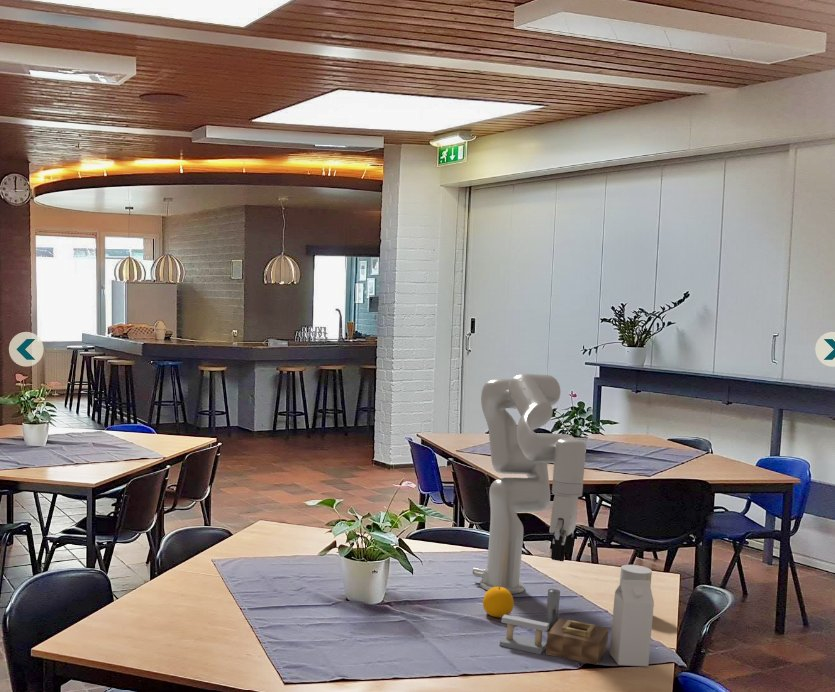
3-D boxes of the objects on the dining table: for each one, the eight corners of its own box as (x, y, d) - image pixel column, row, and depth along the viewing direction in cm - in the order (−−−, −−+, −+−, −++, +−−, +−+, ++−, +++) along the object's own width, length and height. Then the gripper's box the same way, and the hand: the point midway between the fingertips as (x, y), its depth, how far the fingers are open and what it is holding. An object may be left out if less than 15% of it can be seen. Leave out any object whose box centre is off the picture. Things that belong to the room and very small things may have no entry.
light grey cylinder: (648, 619, 251) (652, 575, 251) (617, 615, 253) (621, 571, 253) (647, 610, 259) (651, 567, 259) (617, 606, 261) (620, 563, 260)
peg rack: (497, 645, 224) (499, 619, 223) (504, 637, 229) (506, 612, 229) (542, 654, 220) (544, 628, 219) (549, 646, 225) (551, 621, 225)
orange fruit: (515, 613, 248) (518, 585, 248) (508, 622, 240) (511, 593, 240) (486, 608, 251) (488, 580, 250) (478, 617, 243) (480, 588, 243)
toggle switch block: (545, 653, 220) (547, 628, 220) (557, 638, 231) (559, 614, 231) (597, 664, 216) (599, 639, 216) (606, 648, 227) (609, 623, 227)
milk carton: (609, 654, 223) (616, 575, 222) (638, 655, 224) (645, 576, 223) (618, 665, 216) (625, 584, 215) (648, 667, 217) (655, 585, 216)
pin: (543, 630, 236) (546, 591, 236) (546, 627, 239) (549, 588, 239) (555, 633, 235) (558, 593, 235) (558, 629, 238) (561, 590, 238)
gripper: (559, 481, 245) (554, 546, 246) (544, 491, 229) (539, 561, 230) (588, 485, 243) (583, 551, 243) (575, 495, 227) (569, 566, 227)
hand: (561, 556), depth 237 cm, fingers open, 9 cm apart
